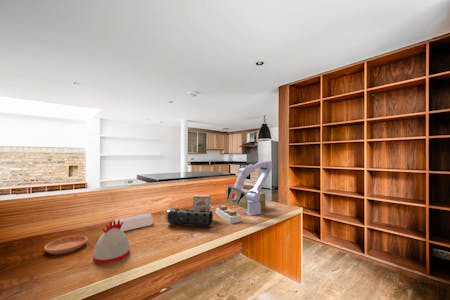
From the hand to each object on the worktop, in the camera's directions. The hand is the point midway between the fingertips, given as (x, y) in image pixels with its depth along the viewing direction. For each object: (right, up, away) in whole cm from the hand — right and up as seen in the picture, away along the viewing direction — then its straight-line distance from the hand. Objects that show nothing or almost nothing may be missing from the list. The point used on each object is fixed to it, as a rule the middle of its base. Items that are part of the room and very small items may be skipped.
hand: (232, 201), depth 135 cm
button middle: (-3, -11, +4) cm, 12 cm away
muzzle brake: (-27, -12, -13) cm, 33 cm away
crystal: (-61, -12, -16) cm, 64 cm away
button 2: (0, -9, -2) cm, 10 cm away
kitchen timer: (-55, -11, -48) cm, 74 cm away
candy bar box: (-21, -13, -1) cm, 24 cm away
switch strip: (-3, -12, +4) cm, 13 cm away
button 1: (-6, -10, +10) cm, 15 cm away
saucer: (-80, -12, -42) cm, 91 cm away
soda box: (+12, -14, +40) cm, 44 cm away
